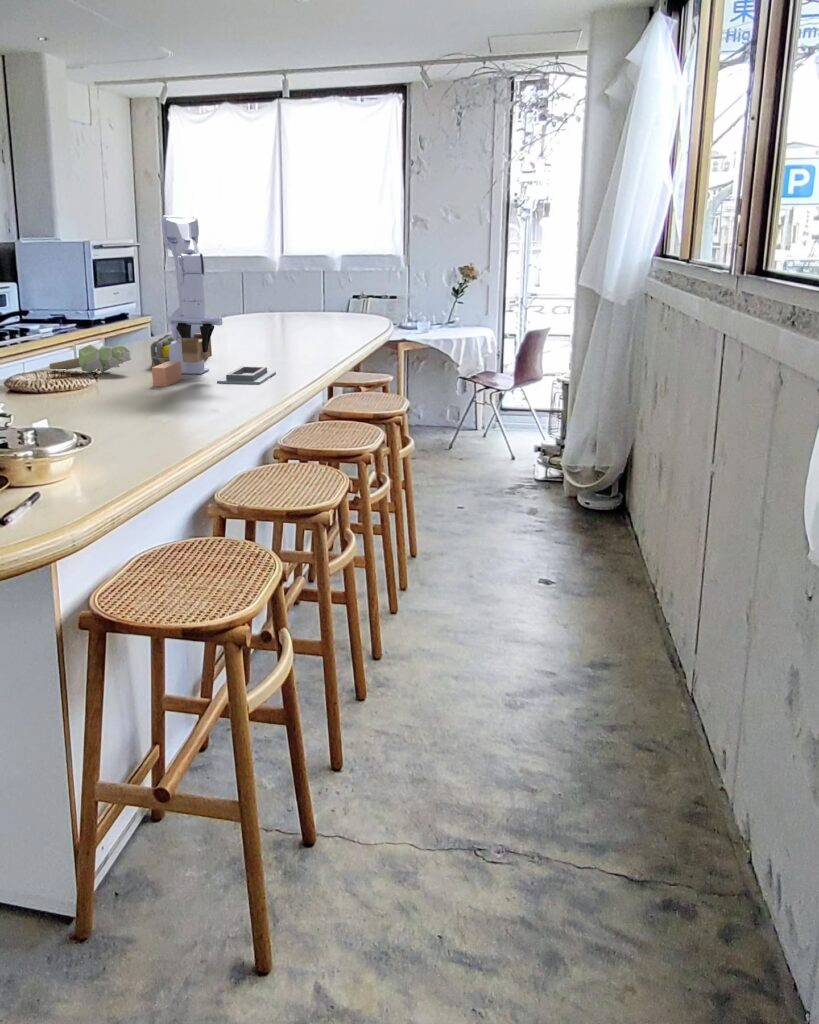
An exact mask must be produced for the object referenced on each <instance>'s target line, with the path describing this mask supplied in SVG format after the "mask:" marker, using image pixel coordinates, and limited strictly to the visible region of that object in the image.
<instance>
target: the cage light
mask: <svg viewBox="0 0 819 1024" xmlns="http://www.w3.org/2000/svg"><path fill="white" fill-rule="evenodd" d="M171 342H177V341H175V340H174V339H173V338H172V333H171V334H165V335H163V336H162V337H160V338H159V339H158V340H157V341H156V340H155V341H154V342H153V341H152V343H151V345H150V357H151V368H152V367H155V366H157V365H160V364H162V363H165V362H167V361H170V358H169V346H170V343H171ZM207 359H208V360H209V357H208V358H206V359H204V363H206V362H207V361H208V360H207ZM206 360H207V361H206ZM205 361H206V362H205Z"/></svg>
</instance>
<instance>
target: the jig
mask: <svg viewBox="0 0 819 1024" xmlns="http://www.w3.org/2000/svg"><path fill="white" fill-rule="evenodd" d="M274 374H275V375H276V374H277V372H276V371H269V370H268V367H267V366H239V367H238V368H236V369H234V370H232V371H230V372H229V373H227V374H226V375H224V376H223V377H221V378H220V379H218V380H216V383H217V384H232V385H233V384H234V385H236V384H239V385H240V384H241V385H261V384H263V383H264V382H266V381H267V380H269V379H270V378H272V377H273V376H274ZM271 376H272V377H271ZM268 378H269V379H268ZM265 380H266V381H265Z"/></svg>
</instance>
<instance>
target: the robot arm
mask: <svg viewBox="0 0 819 1024" xmlns="http://www.w3.org/2000/svg"><path fill="white" fill-rule="evenodd" d="M161 231H162V233H161V234H162V239H163V244H164V248H166V249H167V250H169V251H170V252H171V254H172V256H173V261H174V269H175V271H174V272H175V276H176V280H175V281H176V290H177V296H178V308H176V309H175V310H173V312H172V313H171V315H170V316H167V325H170V328H171V334H172V338H173V339H174V340H175V341H177V342H171V343H170V346H169V358H170V361H181V374H186V375H187V374H190V375H192V374H193V375H201V374H204V373H206V372H208V371H209V370H210V368H209V367H207V368H206V367H205V362H204V360H202V361H199V362H183V357H182V344H181V338H194V334H195V333H201V336H202V348H203V352H208V346H209V341H210V337H211V336H212V334H213V332H214V330H215V326H222V325H223V317H219V316H217V317H216V316H214V317H213V316H206V304H205V303H206V302H205V301H206V300H205V290H204V289H205V287H204V276H205V266H206V265H205V260H204V255H203V252H202V253H201V252H199V247H198V243H199V234H200V233H199V232H200V230H199V220H198V218H197V216H196V215H164V214H163V215H162V216H161Z"/></svg>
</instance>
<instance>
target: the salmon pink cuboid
mask: <svg viewBox="0 0 819 1024" xmlns="http://www.w3.org/2000/svg"><path fill="white" fill-rule="evenodd" d="M151 374H152V376H151V378H152V385H153V386H157V387H159V386H160V387H167V386H169V385H171V384H173V383H175V382H177V381H179V380H182V379H183V377H182V374H183V373H181V361H167V362H165V363H162V364H160V365H157V366H155V367H152V366H151Z"/></svg>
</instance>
